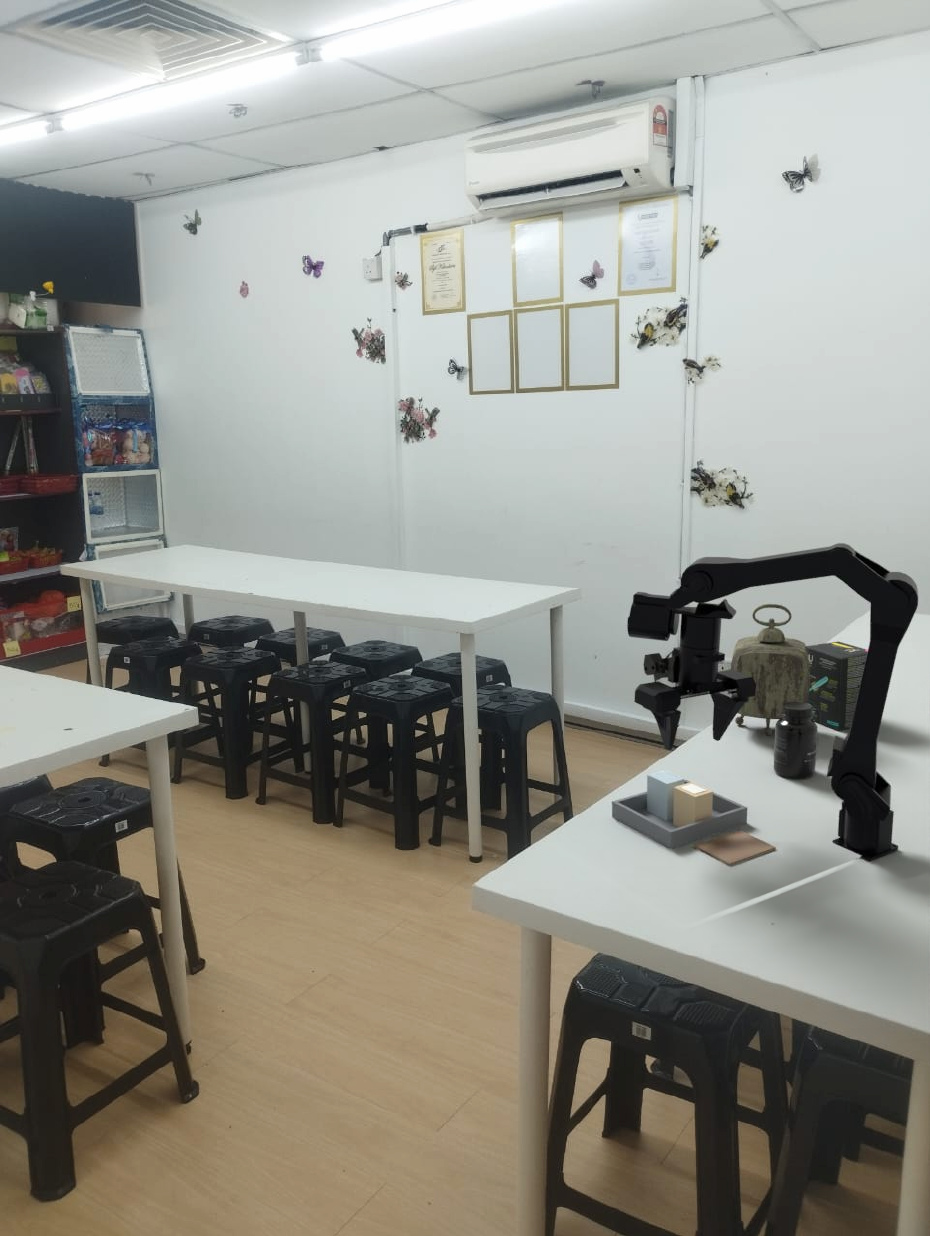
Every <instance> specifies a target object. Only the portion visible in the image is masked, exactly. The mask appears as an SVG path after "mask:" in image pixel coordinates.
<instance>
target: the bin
mask: <svg viewBox="0 0 930 1236" xmlns="http://www.w3.org/2000/svg"><path fill="white" fill-rule="evenodd" d="M690 782H691V781H690V780H687V779H684V784H686V783H690ZM611 817H612V819H614V820H617V821H619V822H620V823H622V824H624V825H626V826H627V827H629V828H631V829H633V830H635V831H637V832H639V833H640V834H642V835H644V836H645V837H648V838H650V839H651V840H653V841H656V842H658V844H661V845H663V846H664V847H666V848H668V849H670V850H672V849H675V848H678V847H680V846H684V845H686V844H690V843H692V842H696V841H698V840H701V839H705V838H707V837H709V836H710V837H711V836H713V835H716V834H718V833H722V832H725V831H727V830H728V831H729V830H731V829H734V828H736V827H740V826H742V825H746V824H748V807H747V806H745V805H742V804H741V803H739V802H736V801H734V800H731V799H730V798H727V797H724V796H722V795H720V794H718V793H717V792H714V791H713V803H712V817H709V818H706V819H703V820H700V821H697V822H694V823H691V824H688V825H685V826H682V827H678V826H676V825H674V824H673V819H671V820H667V821H666V820H664V819H662V818H660V817H658V816H656V815H654V814H652V813H650V812H649V811H647V790H646V791H644V792H640V793H637V794H633V795H630V796H627V797H623V798H619V799H616V800H612V801H611Z"/></svg>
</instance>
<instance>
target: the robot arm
mask: <svg viewBox="0 0 930 1236" xmlns="http://www.w3.org/2000/svg"><path fill="white" fill-rule="evenodd" d="M831 576H832V577H836V578H837V579H839V580H841V581H842V583H844V584H845V585H846V586H848V587H849V588H850V589H851V590H852V591H854V593H856V594H857V595H858V596H860V597H861V598H863V599H864V600H865V601H867V602H868V603H870V612H869V613H870V615H869V616H870V620H869V630H870V631H869V643H868V649H867V650H868V652H867V657H866V661H865V666H864V670H863V675H862V679H861V684H860V688H859V693H858V697H857V702H856V706H855V711H854V715H853V720H852V724H851V728H849V729H848V730H849V731H848V732H847V734H846V736H845V738H842V737H840V736H835V737H834V741H833V747H832V755H831V758H830V759H829V762H828V767H827V773H826V777H827V778H831V779H830V786H831V790H832V791H833V793H834V794H835V795H836V797H837V798H839V799H840V800H842V802H841V809H839V810H838V826H837V836H838V837H837V838H835V839H833V840H832V844H834V845H837V846H839V847H840V848H843V849H846V850H848V851H850V852H853V853H854V854H856V855H857V854H858V855H859V856H860V858H862V859H864V860H867V861H874V860H875V859H878V858H881V857H882V856H883V857H884V856H885V855H888V854H891V853H893V852H896V851H897V850H899V845H897V844H895V843H893V842H892V841H893V828H894V827H893V826H894V815H895V813H894V810H892V809H891V800H892V799H891V798H892V797H891V796H892V785H891V784H890V783H889V782H888V780H886V779H885V778H884V777H883V776H882V775H881V774H880V772H879V771H877V766H878V765H877V762H878V758H877V757H878V736H879V732H880V728H881V724H882V719H883V715H884V709H885V706H886V702H887V697H888V694H889V693H888V692H889V690H890V689H889V688H890V685H891V680H892V676H893V671H894V667H895V662H896V658H897V655H898V654H897V653H898V649H899V647H900V644H901V643H902V640H903V639H904V637H905V635H906V633H907V632H908V629H909V627H910V625H911V622H912V621H913V618H914V616H915V613H916V611H917V608H918V605H919V590H918V584H917V583H916V582H915V580H914V579H913V578H912V577H911V576H909V575H908V574H906V573H903V572H900V571H890V570H888V569H887V568H886V567H884V566H882V565H881V564H879V563H878V562H876V561H874V560H873V559H871V558H868V557H867V556H865V555H863V554H861V553H860V552H858V551H857V550H855V548H853V547H852V546H851V545H850V544H847V543H840V542H838V543H835V544H833V545H830V546H824V547H817V548H810V549H804V550H798V551H792V552H784V553H778V554H773V555H765V556H759V557H753V558H738V557H731V556H729V557H728V556H704V557H701V558H697V559H696V560H695V561H693V562H692V563H691V564H689V566H688V567H686V568H685V570H684V571H683V572H682V574H681V577H680V585H679V587H678V588H676V589H675V590H674V591H672V592H671V593H670V595H661V594H660V595H659V594H651V593H647V592H644V591H637V592H636V593H634V594H633V597H632V598H633V599H632V603H631V606H630V611H629V616H628V617H627V625H626V626H627V627H626V628H627V634H628V636H629V638H636V639H645V640H655V641H663V642H668V641H669V639H670V637H671V636H676V635H677V633H678V630H679V623H680V631H679V645H678V647H673V649H672V651H671V656H670V657H665V658H664V657H663V656H662V655H661V653H660V652H656V653H649V654H645V655H644V657H643V658H644V660H643V670H644V674H645V675H646V676H653V680H654V681H652V682H651V681H650V682H646V683H640V684H638V686H637V687H636V688H635V690H634V703H635V704H637V705H639V706H642V707H643V709H646V710H648V711H649V712H651V714H652V715H653V717H654V719H655V721H656V724H657V726H658V727H657V728H658V730H659V733H660V736H661V739H662V743H663V746H664V749H665V750H667V751H672V749H673V747H674V744H675V741H676V737H677V732H678V727H679V724H680V721H681V719H680V718H681V714H682V711H680V710H679V707H680V706H681V702H682V701H681V700H683V699H690V698H695V697H701V696H705V695H710V697H711V699H712V702H713V712H712V713H713V716H712V738H713V740H714V741H720V740H721V739H722V738H723V735H724V734H725V732H726V730H727V729H728V728H729V726H730V724H731V723H732V722H733V720H734V719H735V717H737V714H738V712H739V710H740V709H741V708H742V706H743V705H744V704H745V703H747V702H749V698H747V697H752V696H755V695H756V683H755V681H754V679H753V677H752V676H749V675H746V674H744V673H741V672H738V671H736V670H733V669H731V668H730V669H727V670H726V669H725V670H719V662H724V661H726V660H725V658H726V654H725V653H723V652H721V651H720V646H721V645H720V644H721V632H722V620H723V619H725V620H733V618H734V617H735V615H736V614H737V610H736V609H735V608H734V607H733V606H731V604H730V603H729V602H728V600H727V598H725V597H727V596H730V595H732V594H735V593H737V592H740V591H743V590H745V589H746V590H747V589H749V588H755V587H762V586H769V585H774V584H782V583H790V582H797V581H805V580H810V579H818V578H825V577H831ZM721 598H725V599H722V600H721V602H720V603H709V602H711V601H715V600H717V599H721ZM692 603H697V605H696V606H687V605H690V604H692ZM680 615H681V616H680ZM680 618H681V619H680ZM718 670H719V671H718ZM665 678H667V682H669V683H672V684H674V683H675V684H676V686H670V685H668V684H665V683H663V682H661V681H660V680H661V679H665Z"/></svg>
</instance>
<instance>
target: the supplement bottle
mask: <svg viewBox="0 0 930 1236" xmlns="http://www.w3.org/2000/svg"><path fill="white" fill-rule="evenodd" d="M782 716H783V718H781V719H777V721H776V723H775V728H774V729H775V730H774V747H773V749H774V750H773V751H774V752H773V770H774V772H775V774H777V775H779V776H781V777H784V778H788V779H796V780H802V779H808V778H811V777H813V776H814V775H815V772H816V763H817V762H816V761H817V749H818V748H817V745H818V726H817V724H816V722H815V721H812V720H811V718H812V706H811V705H809V704H806V703H801V702H787V703H784V704H783V706H782Z"/></svg>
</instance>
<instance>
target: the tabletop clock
mask: <svg viewBox="0 0 930 1236" xmlns="http://www.w3.org/2000/svg"><path fill="white" fill-rule="evenodd" d="M770 608H771V609H772V608H773V609H781V610H783V611H784V612H785V613H787V614H788V618H787V619H786V620H784V621H781V622H775V619H774V618H769V620H768V622H766V621H763V620H762V621H761V620H759V619H757V618H756V613H757V612H759V611H760V610H763V609H770ZM752 619H753V620H754V622H756V624H759V625H761V626H765V627H763V628H762V629H761V630H760V631H758V634H757V635H755V636H746V637H743V638H740V639H738V640H737V642H736V643H735V645H734V650H733V653H732V658H731V663H730V670H731V669H733V670H736V671H738V672H741V673H744V674H746V675H749V676H752V677H753V679H754V681H755V683H756V695H755V696H752V697H747V698H749V702H747V703H745V704H744V705H743V706H742V708H741V709H740V710H739V712H738V713H737V714H739V715H740V716H736V718H734V719H735V720H734V721H735V724H736V725H738V726H739V725H740V726H741V725H743V724H744V721H745V720H744V718H745V717H749V718H757V719H763V720H765V724H766V725H765V727H764V728H763V729H762V733H763V734H764V735H766V736H771V735H772V733H773V729H772V727H770V725H771V720H779V719H781V718H783V716H782V706H783V704H784V703H787V702H801V703H806V704H807V703H808V698H809V690H810V667H809V657H808V651H807V648H806V646H807V645H806V644H805V642H803V641H801V640H799V639H796V638H793V637H785V634H784V632H783V630H782V629H780V628H778V627H782V626H785V625H786V624H788V623H789V622H791V620H792V613H791V611H790V610H789V608H787V607H786V606H783V605H782V604H777V603H774V604H773V603H772V604H771V603H768V604H762V605H759V606H758V607H756V608H755V609H754V611H753V612H752Z"/></svg>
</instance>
